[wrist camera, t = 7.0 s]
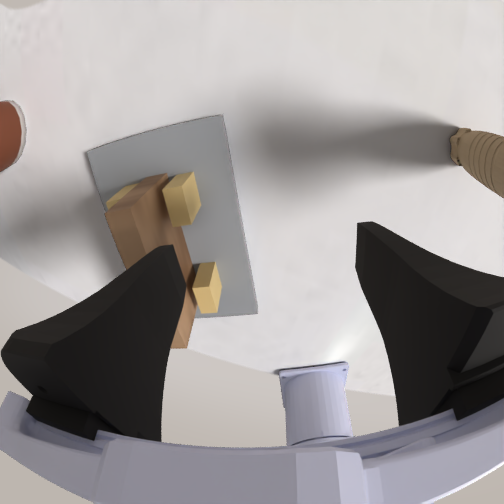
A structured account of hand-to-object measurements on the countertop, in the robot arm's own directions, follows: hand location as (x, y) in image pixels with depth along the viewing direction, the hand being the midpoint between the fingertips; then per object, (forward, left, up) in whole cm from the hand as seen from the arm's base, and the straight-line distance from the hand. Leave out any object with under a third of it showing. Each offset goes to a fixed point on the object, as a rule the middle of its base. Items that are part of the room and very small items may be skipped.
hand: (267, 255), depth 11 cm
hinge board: (-3, +7, -9) cm, 12 cm away
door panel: (-3, +7, -8) cm, 11 cm away
